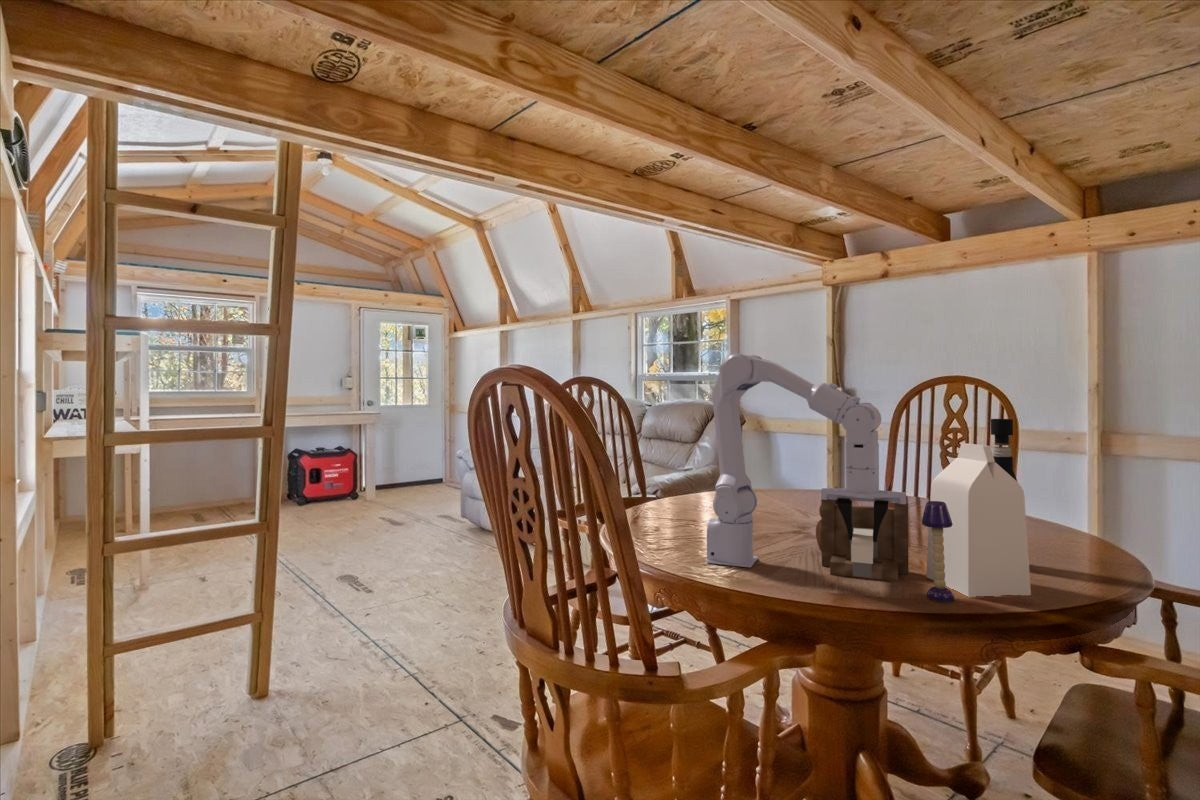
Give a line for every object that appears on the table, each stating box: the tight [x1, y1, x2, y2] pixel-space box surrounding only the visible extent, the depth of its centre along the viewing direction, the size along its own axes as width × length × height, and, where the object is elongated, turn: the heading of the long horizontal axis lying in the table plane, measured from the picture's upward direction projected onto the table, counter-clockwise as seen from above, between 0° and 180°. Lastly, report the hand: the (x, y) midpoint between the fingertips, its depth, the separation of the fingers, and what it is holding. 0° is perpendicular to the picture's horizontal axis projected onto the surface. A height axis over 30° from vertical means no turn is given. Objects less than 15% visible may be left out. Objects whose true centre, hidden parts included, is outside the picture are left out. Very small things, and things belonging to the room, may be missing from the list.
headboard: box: [820, 499, 909, 582], centre depth 120 cm, size 16×8×14 cm, turn 65°
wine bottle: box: [990, 418, 1018, 482], centre depth 125 cm, size 6×6×30 cm
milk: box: [925, 442, 1032, 598], centre depth 112 cm, size 12×12×26 cm
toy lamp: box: [921, 501, 955, 603], centre depth 105 cm, size 5×5×17 cm
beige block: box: [850, 527, 878, 579], centre depth 113 cm, size 5×15×6 cm, turn 155°
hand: (862, 539), depth 114 cm, fingers closed on beige block, 3 cm apart
